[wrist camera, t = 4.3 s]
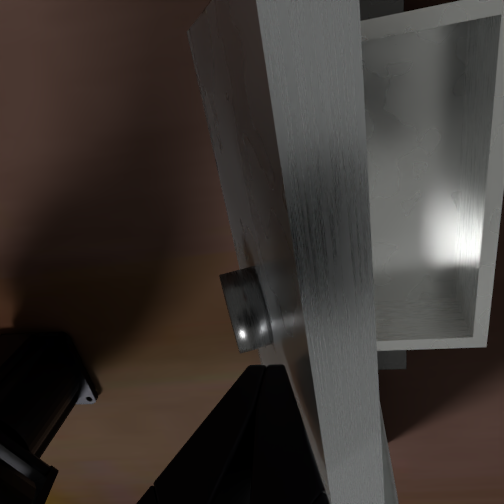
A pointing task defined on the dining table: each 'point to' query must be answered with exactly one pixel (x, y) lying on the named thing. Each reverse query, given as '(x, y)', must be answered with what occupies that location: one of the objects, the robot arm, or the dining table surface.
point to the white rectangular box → (433, 170)
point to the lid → (300, 214)
